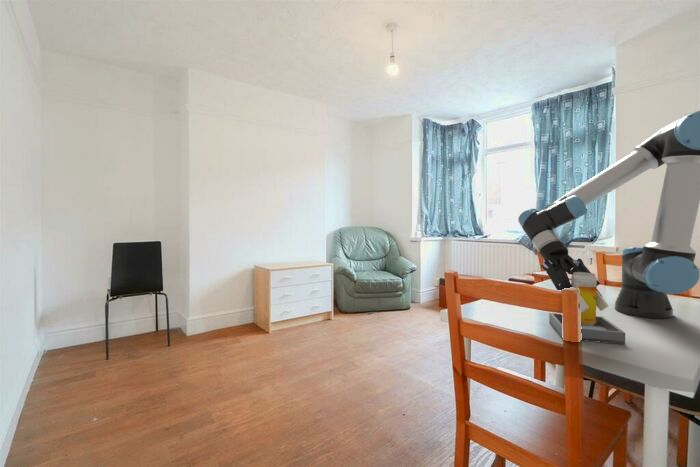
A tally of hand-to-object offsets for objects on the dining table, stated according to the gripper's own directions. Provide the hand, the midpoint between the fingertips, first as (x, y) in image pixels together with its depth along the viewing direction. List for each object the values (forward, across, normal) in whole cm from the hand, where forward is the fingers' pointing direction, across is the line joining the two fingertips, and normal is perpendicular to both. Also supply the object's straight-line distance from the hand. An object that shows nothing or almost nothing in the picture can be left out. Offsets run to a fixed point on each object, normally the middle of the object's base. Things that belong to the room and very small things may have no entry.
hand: (594, 309), depth 92 cm
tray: (+3, 0, -8) cm, 9 cm away
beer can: (+1, 0, -6) cm, 7 cm away
